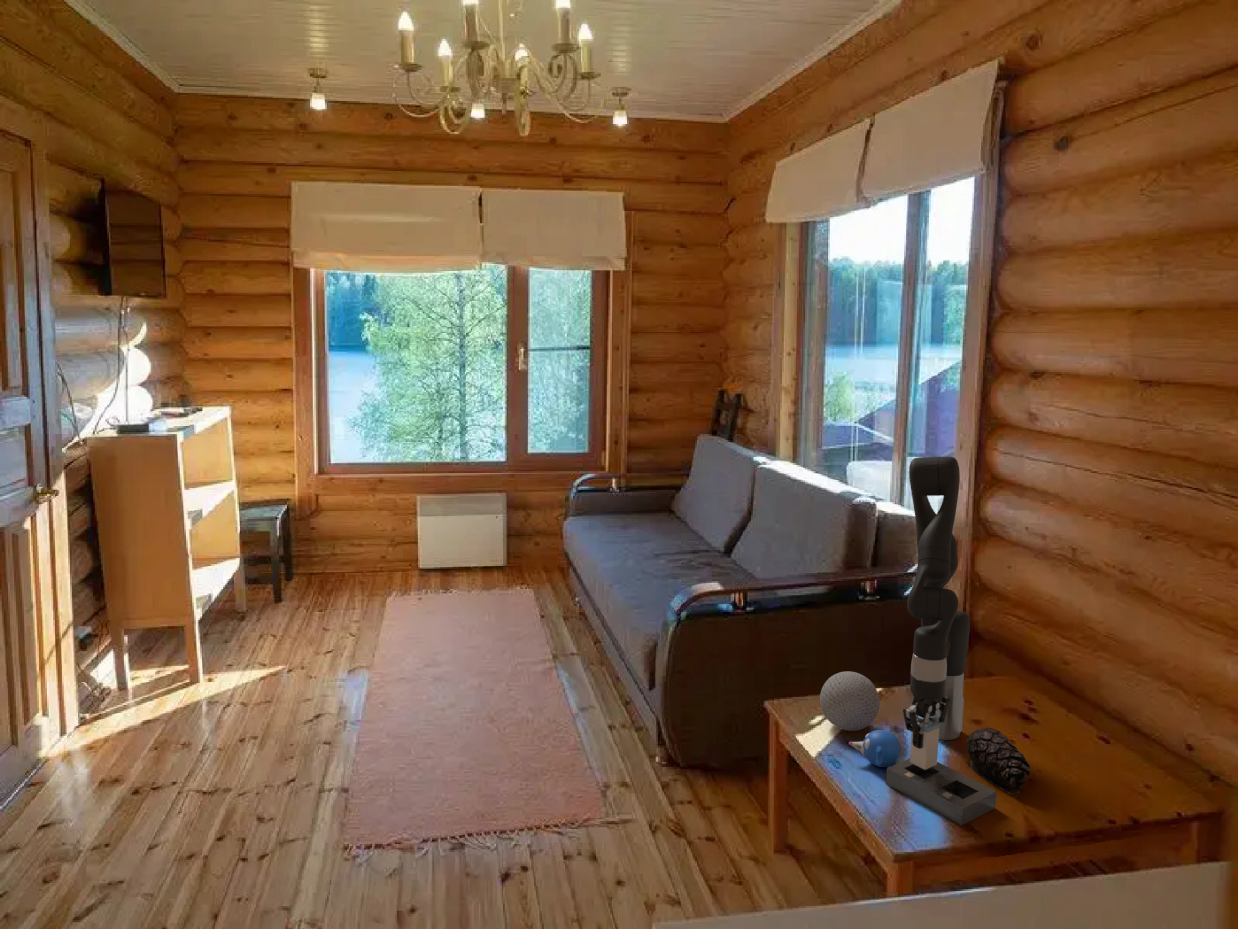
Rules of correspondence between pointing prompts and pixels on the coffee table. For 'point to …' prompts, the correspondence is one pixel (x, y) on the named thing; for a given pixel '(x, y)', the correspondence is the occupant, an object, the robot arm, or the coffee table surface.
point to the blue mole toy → (879, 748)
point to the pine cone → (997, 760)
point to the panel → (942, 790)
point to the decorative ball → (849, 701)
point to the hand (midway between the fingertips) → (924, 743)
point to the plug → (926, 746)
